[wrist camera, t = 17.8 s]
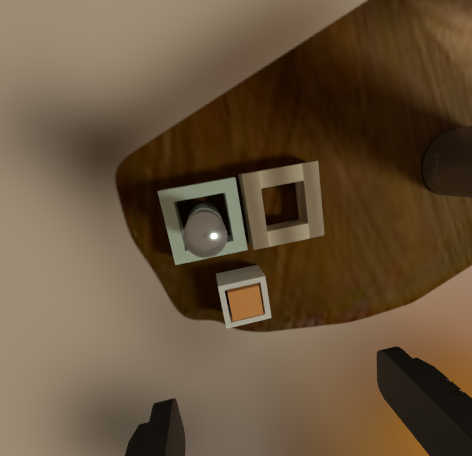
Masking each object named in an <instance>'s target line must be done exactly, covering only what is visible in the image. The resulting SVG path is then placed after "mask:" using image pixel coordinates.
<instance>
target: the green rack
mask: <svg viewBox="0 0 472 456" xmlns="http://www.w3.org/2000/svg"><path fill="white" fill-rule="evenodd" d="M157 192H158V196H159V200H160V204H161V208H162V212H163V216H164V220H165V224H166V228H167V233H168V237H169V241H170V245H171V249H172V253H173V257H174V261H175V265H178V264H183V263H188V262H192V261H197V260H202V259H207V258H203V257H198V256H195V255H194V254H192V253H191V252H190V251H189V250H188V249H187V248H186V246H185V244H184V240H183V233H184V231H183V227H182V222H181V218H180V213H179V209H178V205H177V201H182V200H188V199H193V198H198V197H204V196H209V195H214V194H220V193H223V195H224V200H225V206H226V211H227V217H228V222H229V228H230V233H231V235H229V236H227V242H226V245H225V247H224V248H223V250H222V251H221V252H220V253H218V254H217V255H215V256H212V257H216V256H221V255H226V254H230V253H235V252H240V251H245V250H247V244H246V238H245V232H244V226H243V220H242V214H241V208H240V202H239V196H238V190H237V184H236V178H235V177H230V178H224V179H219V180H213V181H208V182H202V183H197V184H191V185H185V186H180V187H174V188H169V189H163V190H160V191H157ZM208 258H211V257H208Z"/></svg>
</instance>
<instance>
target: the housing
mask: <svg viewBox="0 0 472 456" xmlns="http://www.w3.org/2000/svg"><path fill="white" fill-rule="evenodd" d="M216 277H217V284H218V290H219V294H220V299H221V304H222V309H223V314H224V319H225V323H226V328H231V327H236V326H240V325H244V324H248V323H252V322H256V321H261V320H265V319H269V318H271V311H270V305H269V298H268V292H267V285H266V279H265V275H264V274H263V272H262V270H261V269H260V267H259V266H258V265H254V266H249V267H244V268H240V269H235V270H231V271H226V272H221V273H217V274H216ZM255 283H258V285H259V289H260V295H261V301H262V308H263V314H261V315H257V316H253V317H249V318H244V319H240V320H236V321H233V319H232V314H231V309H230V306H228V305H227V300H226V295H225V290H229V289H233V288H238V287H242V286H246V285H251V284H255Z"/></svg>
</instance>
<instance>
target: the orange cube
mask: <svg viewBox="0 0 472 456" xmlns="http://www.w3.org/2000/svg"><path fill="white" fill-rule="evenodd" d="M227 295H228V300H229V305H230V309H231V314H232V319H233V321H236V320H240V319H244V318H249V317H253V316H257V315H261V314H263V308H262V301H261V295H260V289H259V285H258V283H255V284H251V285H246V286H242V287H238V288H233V289H229V290H227Z"/></svg>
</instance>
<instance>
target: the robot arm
mask: <svg viewBox="0 0 472 456" xmlns="http://www.w3.org/2000/svg"><path fill="white" fill-rule="evenodd" d="M423 177H424V180H425V182H426V184H427V186H428V187H429V188H430V189H431V190H432V191H433V192H435V193H436V194H440V195H446V196H457V197H469V198H472V126H469V127H463V128H458V129H452V130H449V131H446V132H444V133H442V134H441V135H439V136H438V137H437V138H436V139H435V140H434V141H433V142H432V143H431V145H430V146H429V148H428V150H427V152H426V154H425V157H424V161H423ZM377 382H378V387H379V389H380V392H381V393H382V395H383V397H384V399H385V400H386V402H387V403H388V404H389V405H390V406H391V408H392V409H393V410H394V412H395V413H396V414H397V415H398V417H399V418H400V419H401V420H402V422H403V423H404V424H405V425H406V426H407V428H408V429H409V430H410V432H411V433H412V434H413V435H414V437H415V438H416V439H417V440H418V442H419V443H420V444H421V445H422V446H423V448H424V449H425V450H426V452H427V453H428V454H429V455H430V456H472V398H471V397H469V396H468V395H467V394H466V393H463V392H462V391H461V389H460V388H459V387H457V386H456V385H455V384H454V383H453V382H450V381H449V379H448V378H447V377H446V376H444V375H443V374H442V373H441V372H440V371H439V370H437V369H436V368H435V367H434V366H432V365H430V364H428V363H426V362H424V361H422V360H420V359H419V358H414V359H413V358H411V357H410V356H409V355H408V354H407V353H406V352H405V351H404V350H402V349H401V348H400V347H392V348H388V349H384V350H379V351H378V352H377ZM125 456H185V433H184V427H183V424H182V420H181V416H180V413H179V409H178V405H177V401H176V399H175V398H174V399H169V400H165V401H161V402H157V403H154V405H153V408H152V412H151V416H150V421H149V422H148V423H144V424H140V425H139V426H138V428H137V429H136V431H135V433H134V434H133V436H132V438H131V439H130V441H129V443H128V447H127V451H126V454H125Z"/></svg>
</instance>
